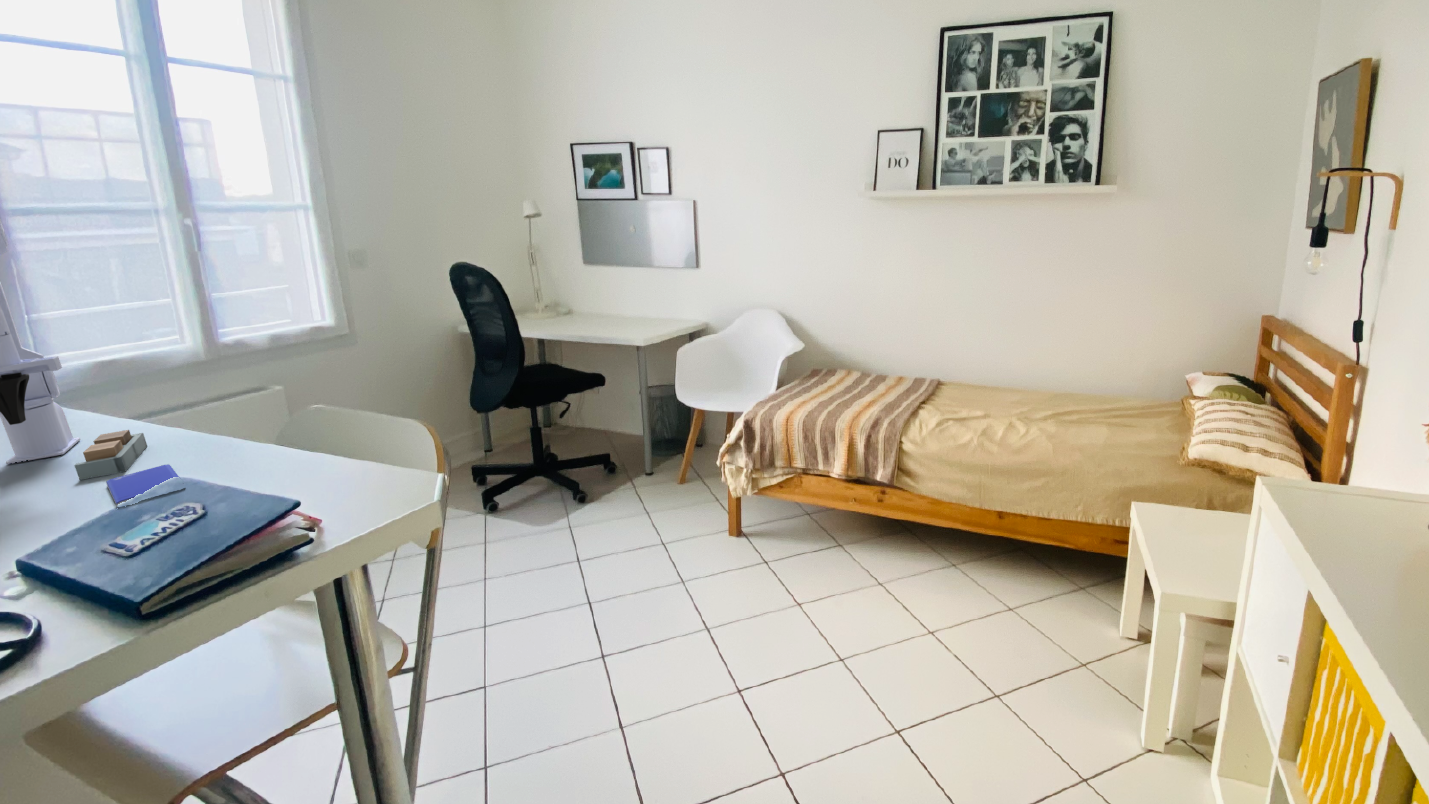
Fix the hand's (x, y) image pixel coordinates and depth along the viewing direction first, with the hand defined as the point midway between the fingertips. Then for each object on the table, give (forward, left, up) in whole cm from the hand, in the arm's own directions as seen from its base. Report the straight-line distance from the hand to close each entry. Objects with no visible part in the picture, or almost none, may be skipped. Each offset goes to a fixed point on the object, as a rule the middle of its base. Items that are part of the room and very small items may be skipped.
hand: (17, 422), depth 113 cm
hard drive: (+15, +17, -11) cm, 25 cm away
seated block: (-6, +9, -10) cm, 15 cm away
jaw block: (0, +9, -10) cm, 14 cm away
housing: (-3, +9, -10) cm, 14 cm away
